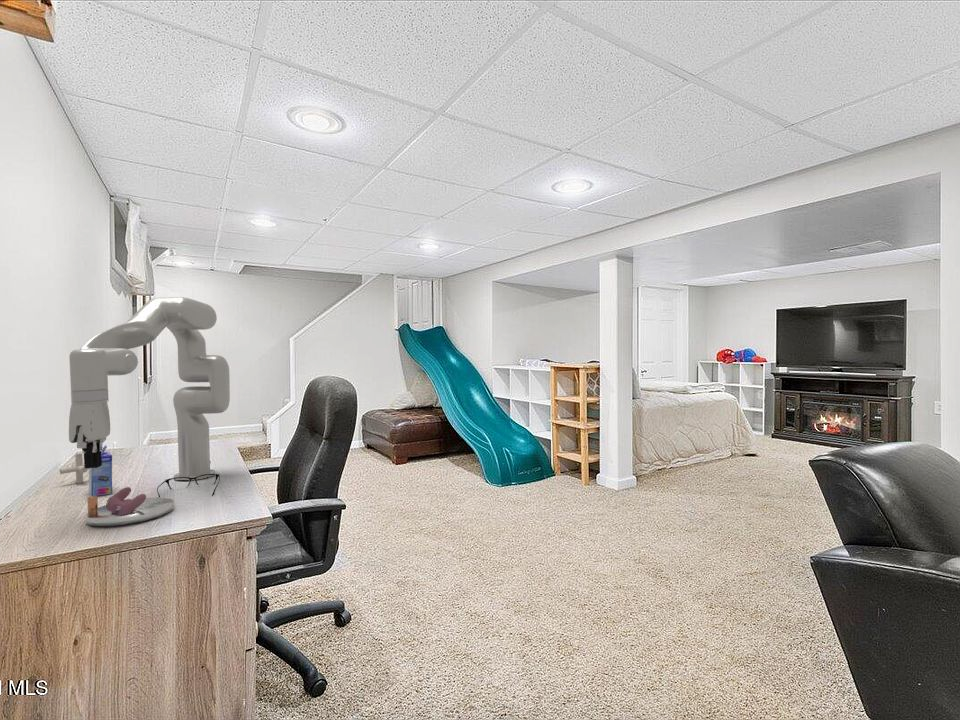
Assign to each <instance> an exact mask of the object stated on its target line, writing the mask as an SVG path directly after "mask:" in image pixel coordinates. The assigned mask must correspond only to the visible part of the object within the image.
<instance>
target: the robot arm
mask: <svg viewBox="0 0 960 720" xmlns="http://www.w3.org/2000/svg"><path fill="white" fill-rule="evenodd" d="M217 320H218V317H217V313H216V311H215V309H214V308H213V307H212V305H210V304H208V303H204V302H202V301H198V300H196V299H191V298H189V297H184V296H175V297H174V296H171V297H170V296H169V297H168V296H166V297H165V296H164V297H163V296H162V297H161V296H160V297H154V298H152V299H149V300H147V302H145V303H144V304H143V305H142V306H141V307H140V308H139V309H138V311H136V312H135V314H133V315H132V316H131V317H130V318H129V319H128V320H127V321H126V322H123V323H121V324H118V325H115V326H113V327H111V328H109V329H106V330H105V331H102V332H100V333H99V334H97V335H95V336H93V337H92V338H90V339H89V340H87V342H85V344H84V345H83V346H82V347H80V348H79V349H73V350H72V351H70V353H69V355H68V356H69V357H68V358H69V377H70V379H69V380H70V381H69V382H70V397H71V398H70V401H71V404H70V410H69V417H68V441H69V442H70V443H71V444H75V443H76V449H81V451H82V452H81V453H82V454H83V465H84V467H85V468H98V467H100V466H102V456H101V451H102V449H103V443H104V442H105V441H106V440H107V437H108V436H110V434H111V420H110V419H111V418H110V410H109V404H108V402H109V381H108V379H109V378H108V376H126V375H129V374H130V373H131V374H132V372H134V371H135V370H136V369H137V367H138V364H139V359H138V356H137V355H136V353H135V352H134V351H132V350H131V349H135V348H139V347H143V346H145V345H148V344H151V343H153V342H154V341H155V340H156V339H157V338H158V336H159V335H161V333H162V332H163V331H164V330H165V329H166V328H167V329H168V330H169V331H170V333H172V335H173V337H174V338H175V340H176V345H177V373H178V377H179V379H180V381H183V382H185V383H209V386H205V385H204V386H203V385H202V386H201V385H200V386H199V385H198V386H197V385H196V386H194V385H193V386H191V385H190V386H185V387H181V388H179V389H178V390H176V391H175V393H174V394H173V397H172V401H173V403H172V404H173V408H174V412H175V415H176V422H177V423H176V424H177V452H178V454H177V455H178V457H177V458H178V459H177V460H178V473H175V474H174V475H173V478H176V477H189V478H193V477H197V476H200V475H205V474H216V470H215V469H212V468H211V462H212V461H211V452H210V425H209V422H208V420H207V418H206V417H205V415H204V414H208V415H210V414H222V413H225V411H227V409H228V408H229V405H230V401H231V400H230V399H231V397H230V396H231V393H230V392H231V390H230V366H229V362H228V361H227V359H226V358H225V357H224V356H222V355H218V354H207V348H206V339H205V337H204V335H203V334H202V333H201V332H200V330H204V331H206V330H210V329H212V328H213V327H215V325H216V323H217ZM213 476H214V475H205V476H201V477H198V478H196V480H197V481H198V479H199V480H203V478H204V479H207V477H208V478H210V477H213ZM173 480H175V481H177V480H189V479H188V478H176V479H173ZM191 481H195V479H192V480H191Z"/></svg>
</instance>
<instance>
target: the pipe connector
mask: <svg viewBox="0 0 960 720" xmlns="http://www.w3.org/2000/svg"><path fill="white" fill-rule="evenodd" d="M74 455H75V456H74V457H75V463H73V464H72V465H71V466H70V467H69V466H68V467H63V468H59V474H60V475H63V474H69V473H74V472H75V478H76V479H75V481H76V482H75V483H80V484H83V483H84V473H87V472H88V471H89V468H85V467H84V458H83V452H77V453H75V454H74Z"/></svg>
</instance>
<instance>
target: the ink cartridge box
mask: <svg viewBox="0 0 960 720" xmlns="http://www.w3.org/2000/svg"><path fill="white" fill-rule="evenodd" d="M106 449H107V444H106V445H104V446H103V447H102V450H101V456H102V466H100V467H98V468H89V469H88V491H89V495H90V496H97V497H102V496H106V495H112V494H113V455H112V454H111V452H110V451H106Z"/></svg>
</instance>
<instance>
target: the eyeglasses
mask: <svg viewBox="0 0 960 720" xmlns="http://www.w3.org/2000/svg"><path fill="white" fill-rule="evenodd" d="M205 475H213V476H215V480H214V483H213V484H214V485H215V484H216V482H217V481H218V482H217V485H216V486H215V487H214V489H213V491H212V494H211V497H213V495H215V492H216V490H217V488H218V485H219V483H220V481H221V478H220V477H221V474H220V473H215V474H205ZM205 475H200V476H197V477H193V478H189V477H176V478H188V479H189V480H190V481H188V482H189V483H188V485H187V486H188V487H189V486H190V485H191V483H192V481H193V480H192V479H195V480H194V483H195V485H197V486H198V485H200V484H199V483H198V480H196V478H198V477H201V476H205ZM176 478H174V477H171V478H168V479H167V478H166V479H165V480H164V481H162V482H161V484H159V485H158V486H157V488H156V492H157V495H158V496H157V497H161V495H160V493H159V488H160V487H161V486H162V485H163V484H165V483H166V484H167V486H168V488H169V489H170V490H171V489H172V490H173V488H172V487H171V485H170V481H171V480H174V479H176Z"/></svg>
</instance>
